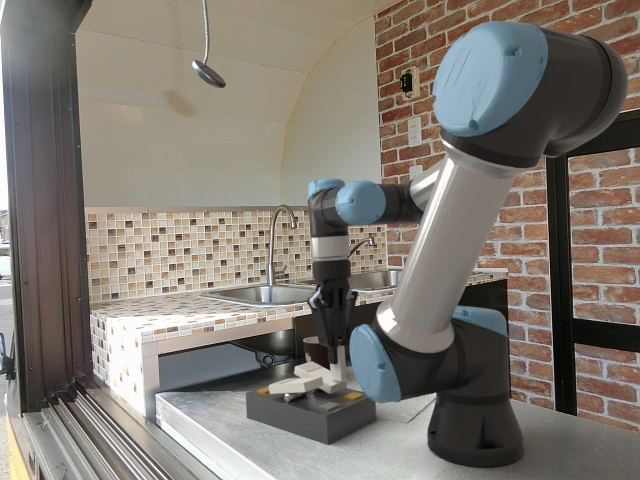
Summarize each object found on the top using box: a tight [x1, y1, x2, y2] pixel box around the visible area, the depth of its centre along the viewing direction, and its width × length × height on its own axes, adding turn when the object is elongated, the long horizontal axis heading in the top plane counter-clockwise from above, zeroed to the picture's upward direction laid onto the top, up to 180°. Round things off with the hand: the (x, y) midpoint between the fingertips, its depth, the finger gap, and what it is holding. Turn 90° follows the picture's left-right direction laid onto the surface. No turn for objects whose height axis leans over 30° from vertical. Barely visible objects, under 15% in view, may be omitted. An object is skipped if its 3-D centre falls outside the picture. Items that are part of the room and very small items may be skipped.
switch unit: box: [245, 376, 377, 446], centre depth 98 cm, size 22×14×6 cm, turn 47°
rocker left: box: [269, 377, 324, 394], centre depth 95 cm, size 10×5×2 cm, turn 47°
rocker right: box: [293, 362, 349, 394], centre depth 100 cm, size 10×5×2 cm, turn 47°
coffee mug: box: [302, 335, 331, 371], centre depth 127 cm, size 12×9×10 cm
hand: (338, 379), depth 97 cm, fingers closed
